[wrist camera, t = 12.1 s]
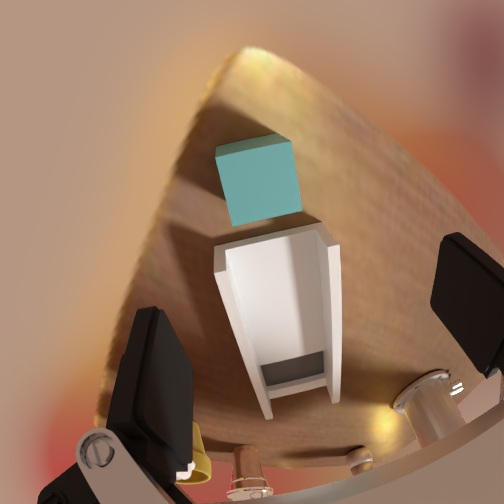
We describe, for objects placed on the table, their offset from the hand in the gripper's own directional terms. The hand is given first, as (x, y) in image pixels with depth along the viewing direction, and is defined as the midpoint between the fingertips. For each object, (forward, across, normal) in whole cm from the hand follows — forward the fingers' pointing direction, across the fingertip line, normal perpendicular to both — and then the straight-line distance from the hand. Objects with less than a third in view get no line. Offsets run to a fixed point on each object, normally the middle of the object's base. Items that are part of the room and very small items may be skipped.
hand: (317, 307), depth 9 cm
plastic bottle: (+17, -12, +68) cm, 71 cm away
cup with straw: (+17, +12, +50) cm, 54 cm away
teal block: (+15, 0, +2) cm, 15 cm away
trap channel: (+17, 0, +18) cm, 25 cm away
